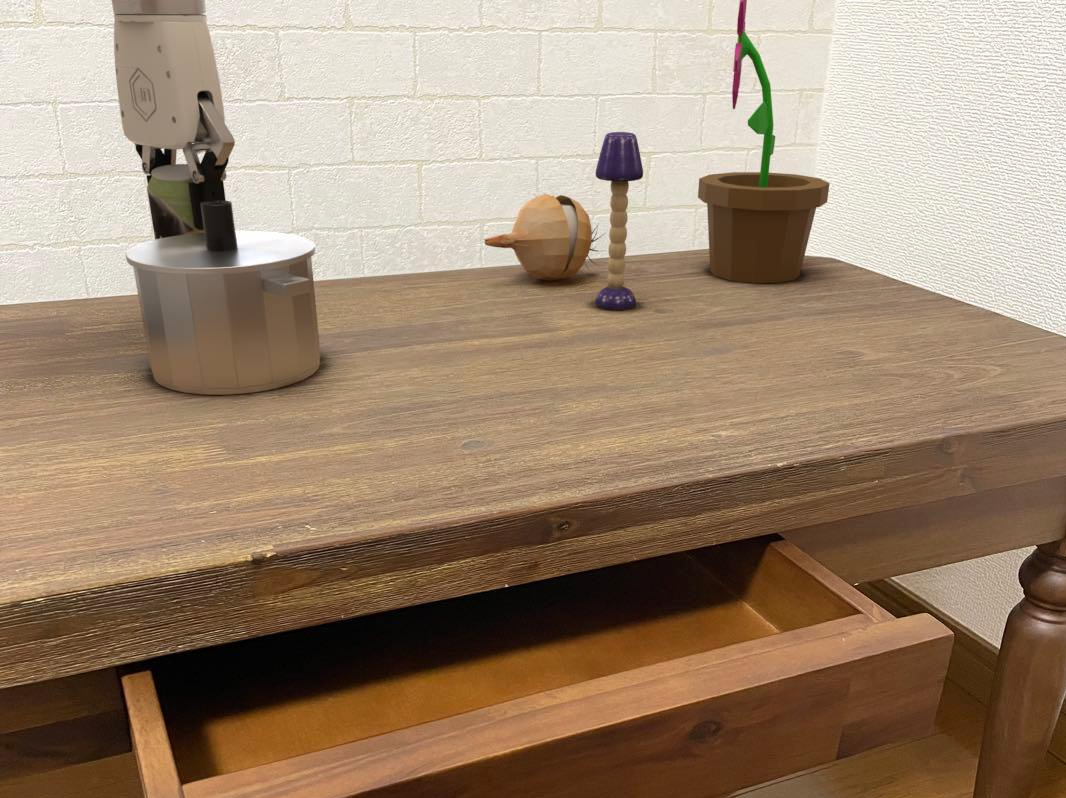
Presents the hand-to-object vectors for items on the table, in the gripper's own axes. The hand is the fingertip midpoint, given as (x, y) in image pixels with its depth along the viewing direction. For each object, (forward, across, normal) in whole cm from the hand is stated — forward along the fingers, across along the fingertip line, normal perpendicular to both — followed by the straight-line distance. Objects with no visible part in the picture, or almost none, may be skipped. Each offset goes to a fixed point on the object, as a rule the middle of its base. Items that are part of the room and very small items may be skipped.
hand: (190, 221), depth 96 cm
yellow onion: (+10, +12, +36) cm, 39 cm away
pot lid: (0, +14, -6) cm, 15 cm away
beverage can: (+7, 0, 0) cm, 7 cm away
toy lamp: (+10, +25, +32) cm, 42 cm away
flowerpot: (+10, +28, +55) cm, 63 cm away
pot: (+10, +14, -6) cm, 18 cm away
